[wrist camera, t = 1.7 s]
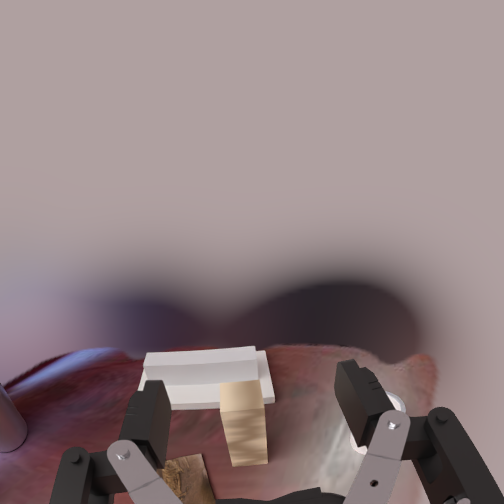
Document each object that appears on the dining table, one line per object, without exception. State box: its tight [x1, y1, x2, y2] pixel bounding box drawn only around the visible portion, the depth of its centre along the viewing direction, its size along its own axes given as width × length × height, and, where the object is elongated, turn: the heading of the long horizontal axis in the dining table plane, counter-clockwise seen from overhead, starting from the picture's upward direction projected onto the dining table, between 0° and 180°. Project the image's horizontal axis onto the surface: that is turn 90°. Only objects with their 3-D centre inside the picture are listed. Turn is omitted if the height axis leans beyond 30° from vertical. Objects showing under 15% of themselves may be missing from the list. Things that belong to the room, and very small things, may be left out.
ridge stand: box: [138, 346, 275, 410], centre depth 47 cm, size 22×12×6 cm, turn 95°
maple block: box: [220, 379, 268, 467], centre depth 32 cm, size 4×4×12 cm
